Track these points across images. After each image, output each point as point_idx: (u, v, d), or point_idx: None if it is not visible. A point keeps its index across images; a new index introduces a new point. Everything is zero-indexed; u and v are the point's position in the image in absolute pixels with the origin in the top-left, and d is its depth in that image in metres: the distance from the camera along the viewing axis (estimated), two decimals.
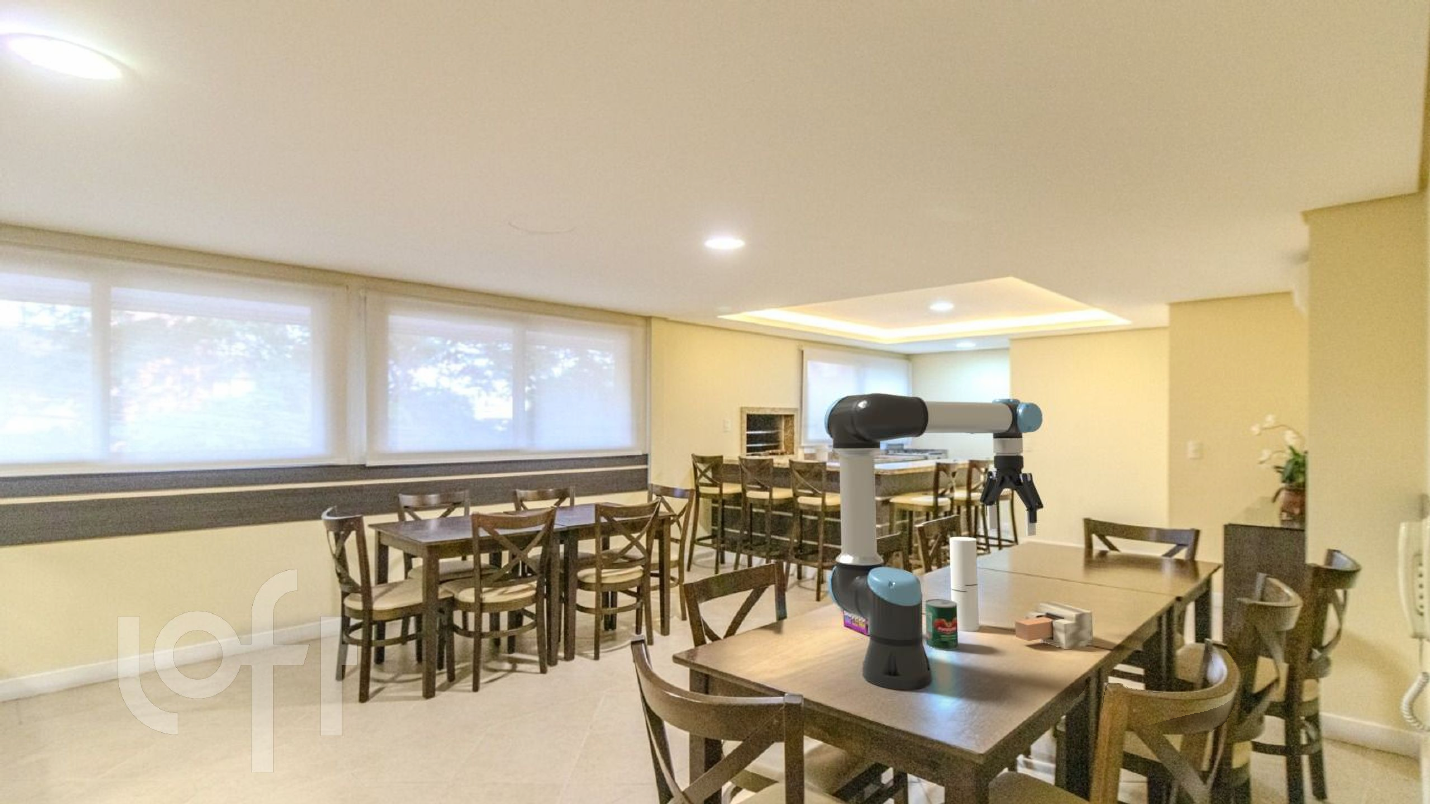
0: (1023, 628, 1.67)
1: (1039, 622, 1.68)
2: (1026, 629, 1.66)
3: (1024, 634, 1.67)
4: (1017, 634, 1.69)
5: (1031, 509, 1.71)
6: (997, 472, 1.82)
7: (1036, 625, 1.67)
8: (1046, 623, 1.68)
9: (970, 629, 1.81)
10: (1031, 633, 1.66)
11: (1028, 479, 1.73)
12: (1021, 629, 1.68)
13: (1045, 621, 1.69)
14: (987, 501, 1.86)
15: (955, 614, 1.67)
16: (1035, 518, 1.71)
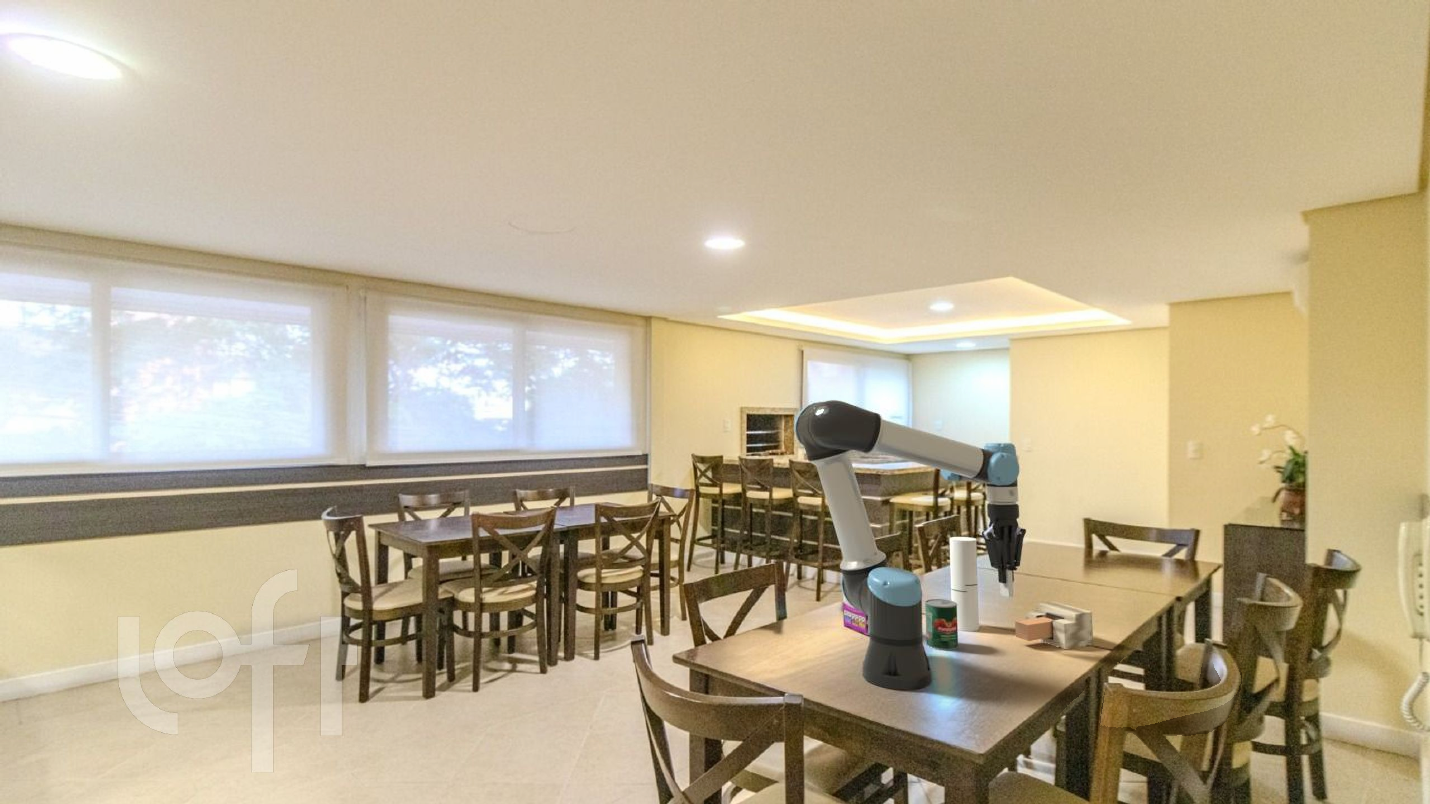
0: (1023, 628, 1.67)
1: (1039, 622, 1.68)
2: (1026, 629, 1.66)
3: (1024, 634, 1.67)
4: (1017, 634, 1.69)
5: (998, 569, 1.67)
6: None
7: (1036, 625, 1.67)
8: (1046, 623, 1.68)
9: (970, 629, 1.81)
10: (1031, 633, 1.66)
11: (987, 538, 1.65)
12: (1021, 629, 1.68)
13: (1045, 621, 1.69)
14: None
15: (955, 614, 1.67)
16: (1001, 578, 1.66)
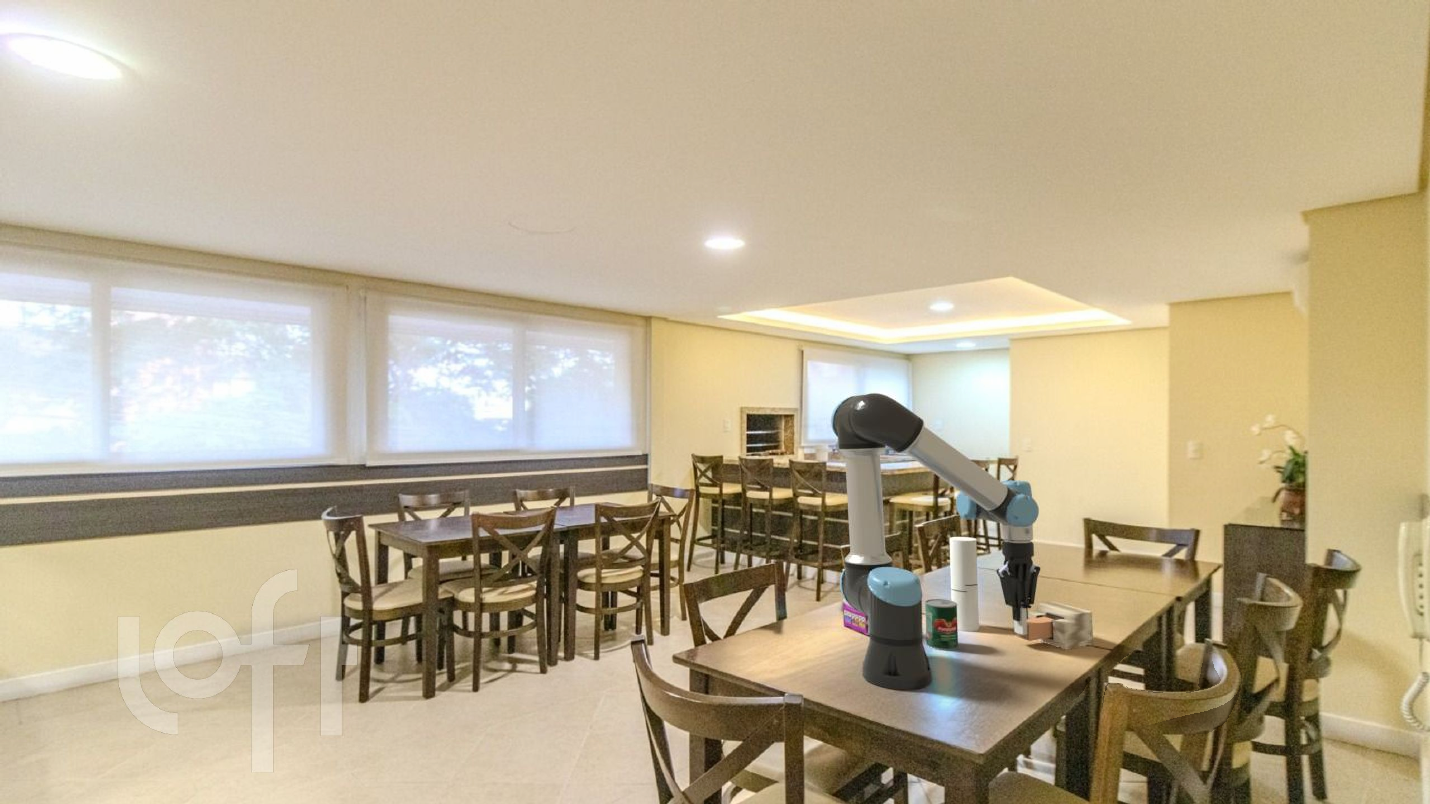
0: None
1: (1040, 622, 1.68)
2: (1027, 629, 1.66)
3: None
4: (1018, 634, 1.69)
5: (1012, 606, 1.68)
6: None
7: (1037, 625, 1.67)
8: (1047, 623, 1.68)
9: (970, 629, 1.81)
10: (1032, 633, 1.66)
11: (1001, 576, 1.66)
12: None
13: (1046, 621, 1.69)
14: None
15: (955, 614, 1.67)
16: (1015, 616, 1.67)
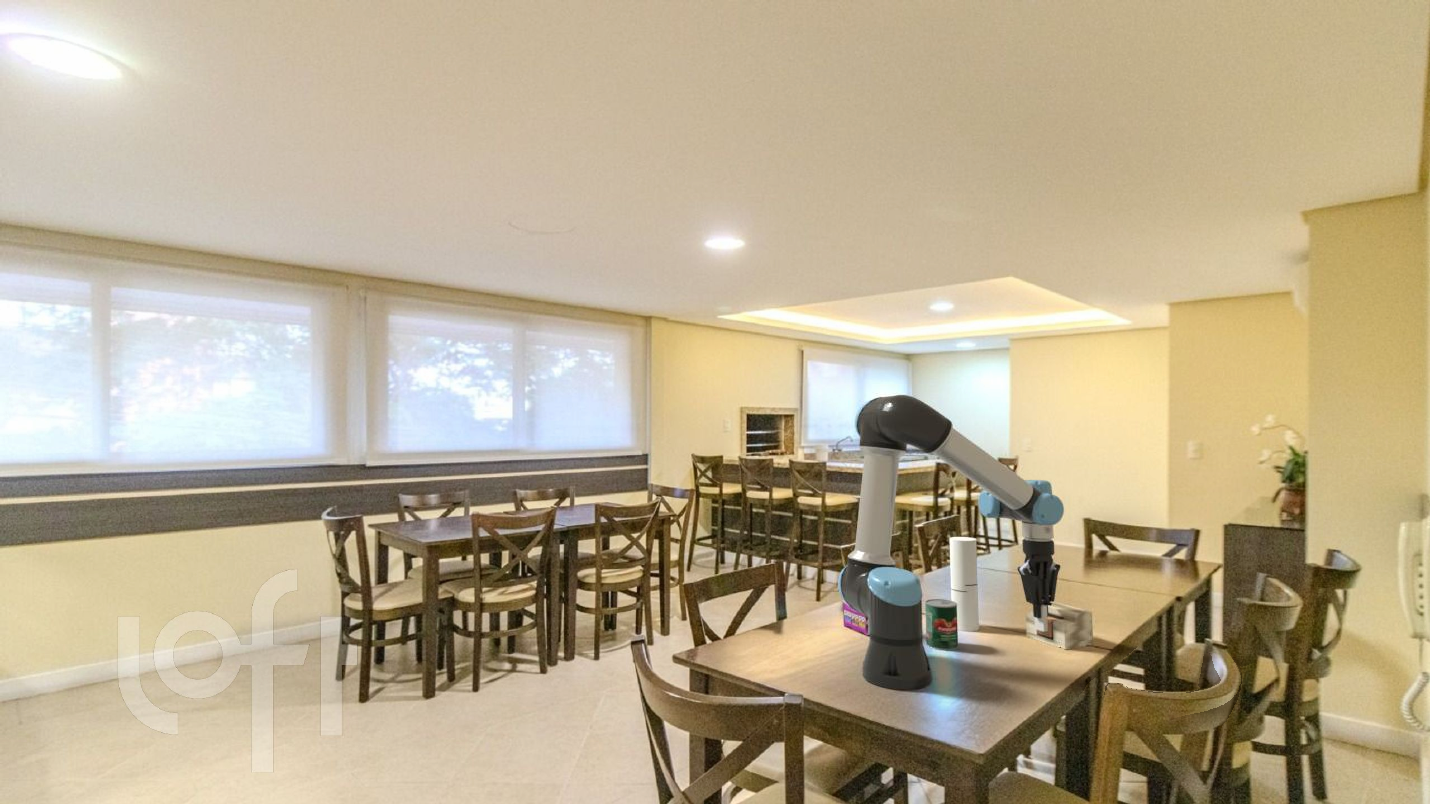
0: None
1: None
2: (1048, 626, 1.69)
3: None
4: (1039, 631, 1.72)
5: (1032, 603, 1.71)
6: None
7: None
8: None
9: (970, 629, 1.81)
10: None
11: (1022, 574, 1.69)
12: None
13: None
14: None
15: (955, 614, 1.67)
16: (1036, 613, 1.70)
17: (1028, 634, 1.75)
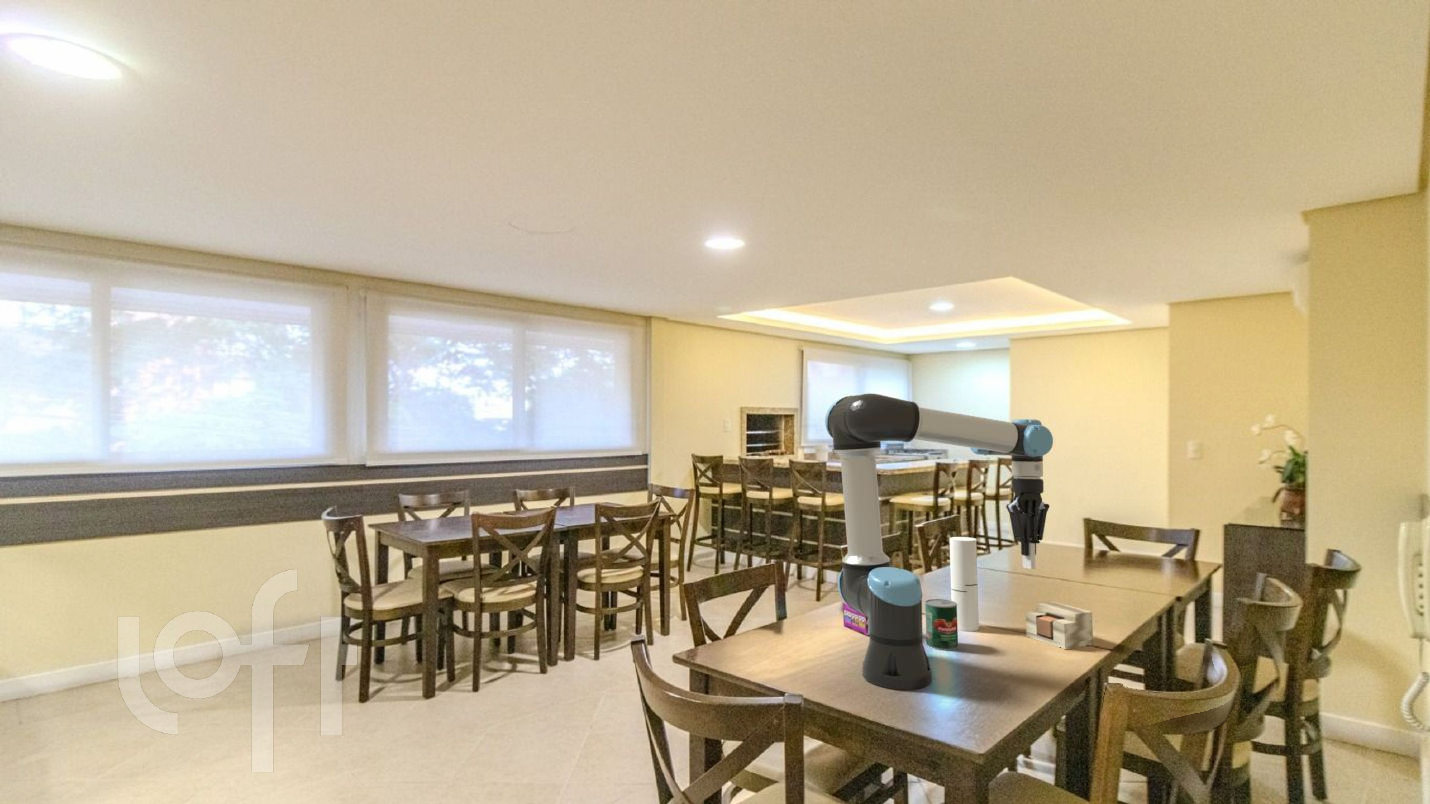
0: (1045, 625, 1.70)
1: None
2: (1048, 626, 1.69)
3: (1046, 630, 1.70)
4: (1039, 631, 1.72)
5: (1021, 542, 1.71)
6: None
7: None
8: None
9: (970, 629, 1.81)
10: None
11: (1011, 511, 1.70)
12: (1043, 626, 1.70)
13: None
14: None
15: (955, 614, 1.67)
16: (1023, 550, 1.70)
17: (1028, 634, 1.75)
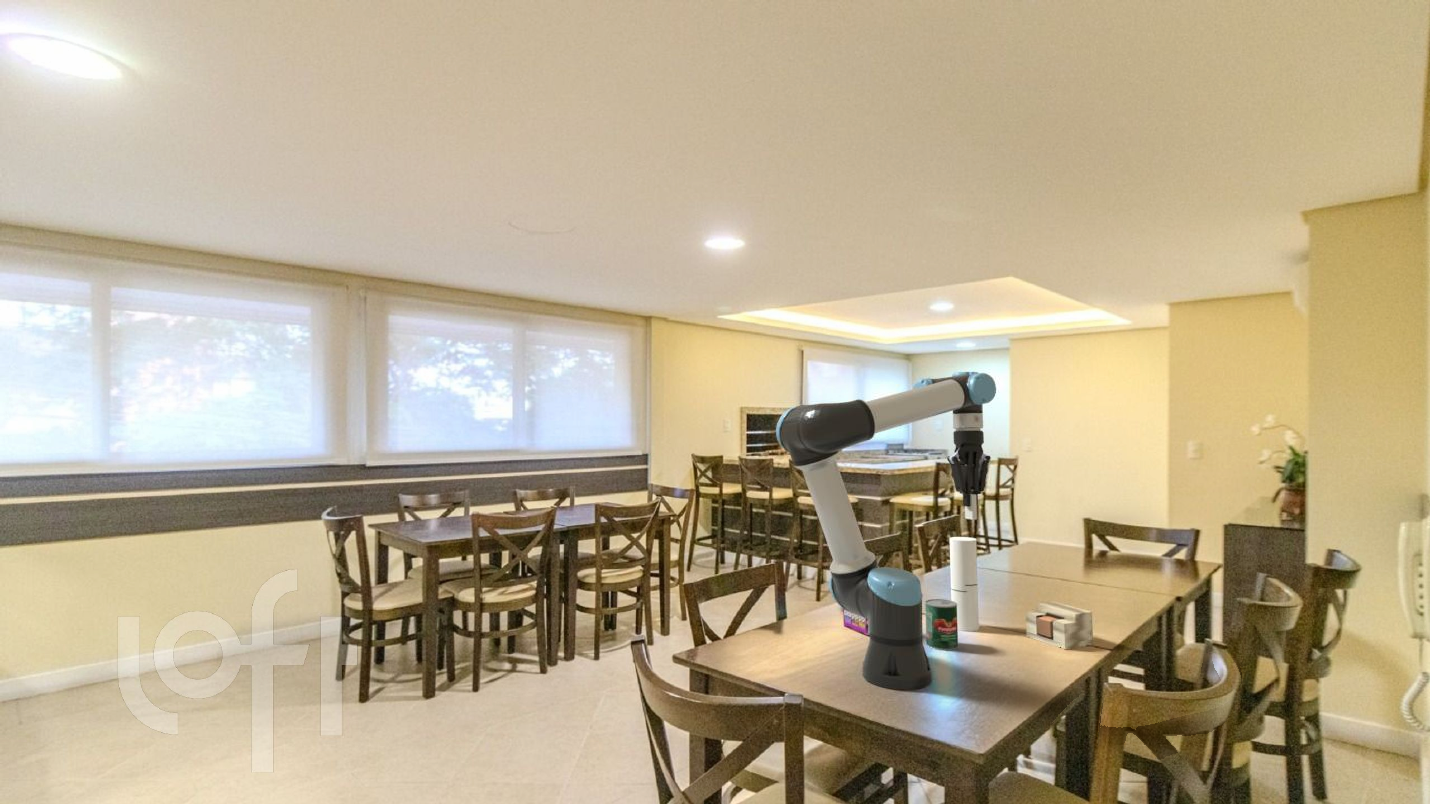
0: (1045, 625, 1.70)
1: None
2: (1048, 626, 1.69)
3: (1046, 630, 1.70)
4: (1039, 631, 1.72)
5: (962, 493, 1.73)
6: None
7: None
8: None
9: (970, 629, 1.81)
10: None
11: (952, 463, 1.71)
12: (1043, 626, 1.70)
13: None
14: None
15: (955, 614, 1.67)
16: (965, 501, 1.72)
17: (1028, 634, 1.75)
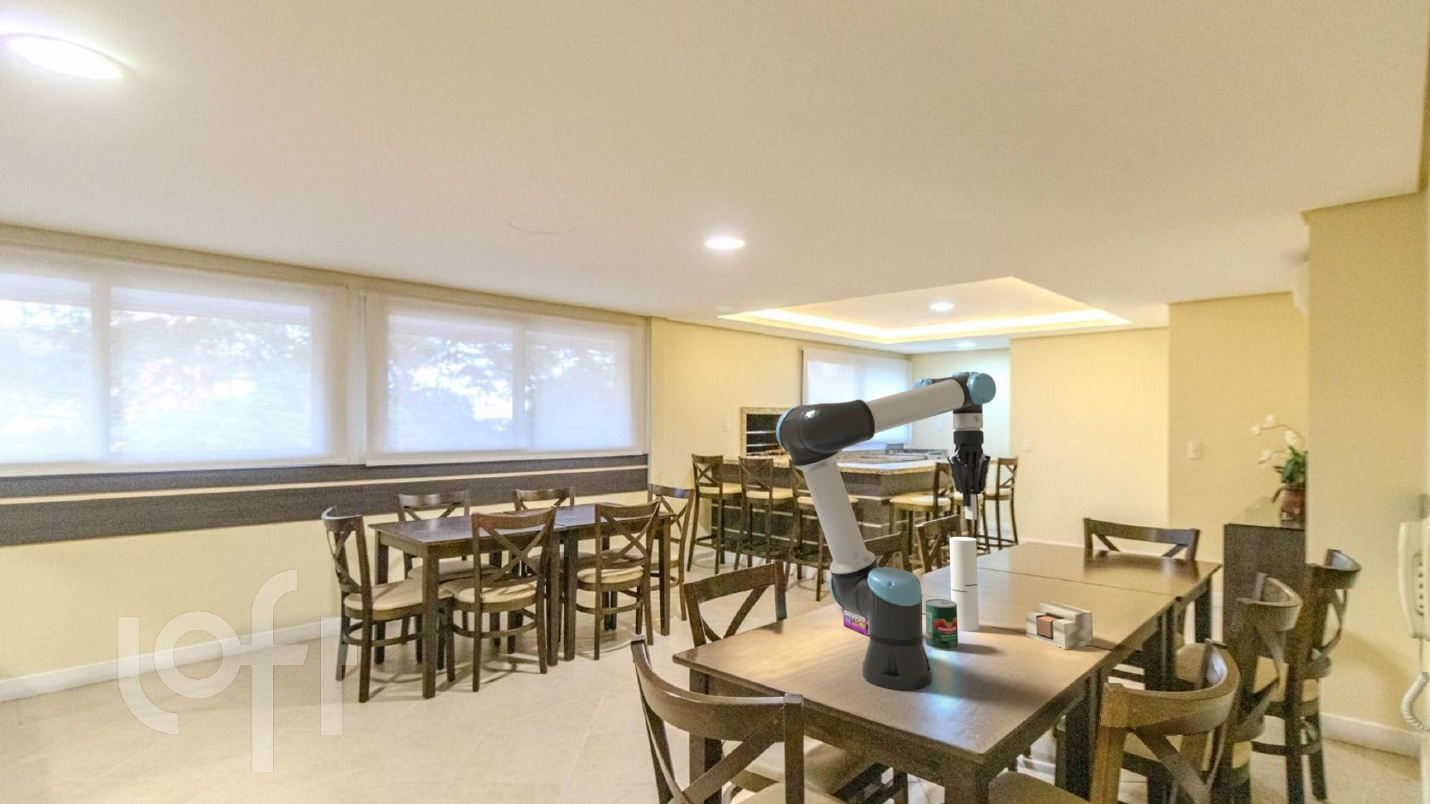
0: (1045, 625, 1.70)
1: None
2: (1048, 626, 1.69)
3: (1046, 630, 1.70)
4: (1039, 631, 1.72)
5: (962, 493, 1.73)
6: None
7: None
8: None
9: (970, 629, 1.81)
10: None
11: (952, 463, 1.71)
12: (1043, 626, 1.70)
13: None
14: None
15: (955, 614, 1.67)
16: (965, 501, 1.72)
17: (1028, 634, 1.75)
